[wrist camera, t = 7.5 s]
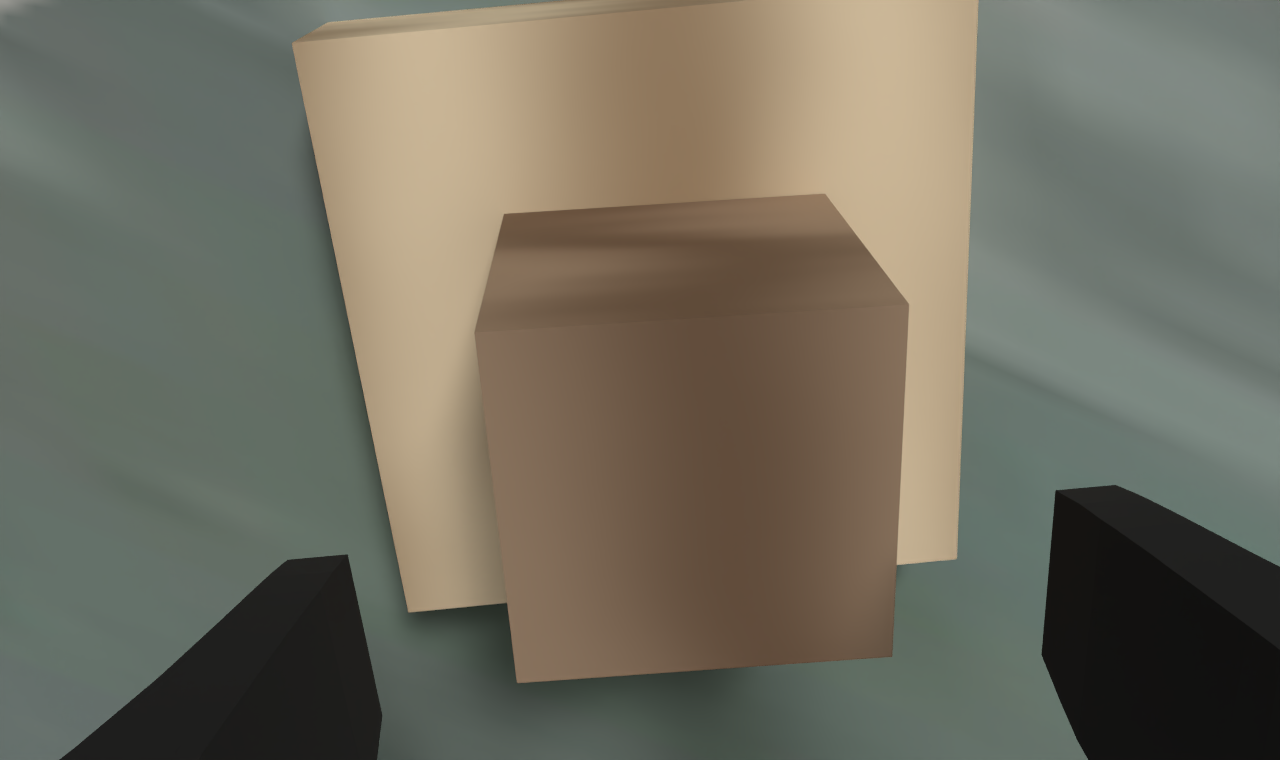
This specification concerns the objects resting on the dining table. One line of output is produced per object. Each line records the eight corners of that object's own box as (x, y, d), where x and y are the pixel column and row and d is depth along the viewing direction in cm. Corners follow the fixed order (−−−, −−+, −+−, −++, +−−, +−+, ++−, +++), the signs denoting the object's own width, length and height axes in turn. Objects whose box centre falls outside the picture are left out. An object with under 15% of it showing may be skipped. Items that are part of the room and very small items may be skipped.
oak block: (428, 525, 23) (407, 612, 20) (333, 18, 19) (292, 42, 16) (912, 478, 23) (956, 559, 20) (922, -36, 19) (978, -21, 16)
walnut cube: (533, 494, 19) (516, 682, 15) (503, 213, 17) (474, 332, 13) (820, 474, 19) (892, 657, 15) (824, 193, 17) (908, 304, 13)
